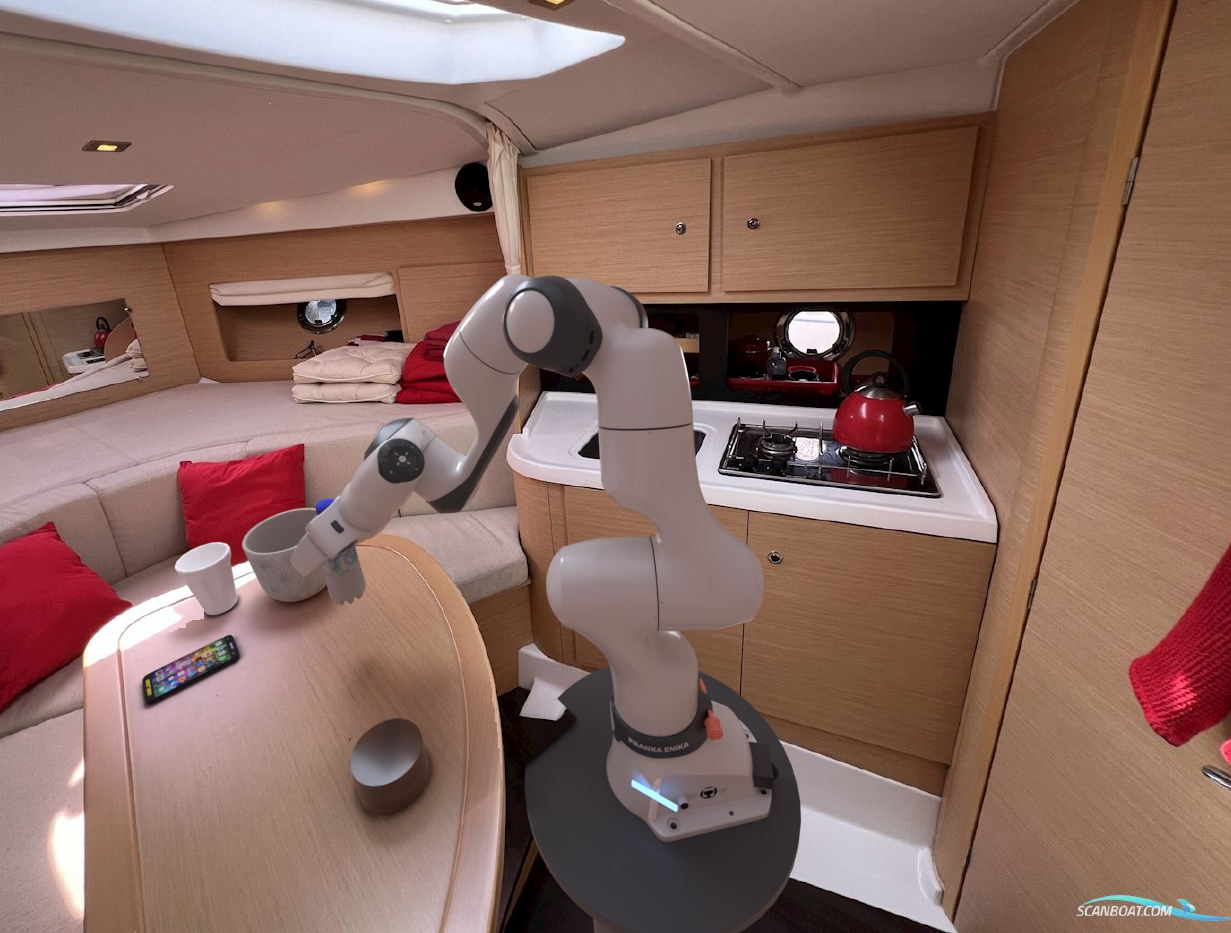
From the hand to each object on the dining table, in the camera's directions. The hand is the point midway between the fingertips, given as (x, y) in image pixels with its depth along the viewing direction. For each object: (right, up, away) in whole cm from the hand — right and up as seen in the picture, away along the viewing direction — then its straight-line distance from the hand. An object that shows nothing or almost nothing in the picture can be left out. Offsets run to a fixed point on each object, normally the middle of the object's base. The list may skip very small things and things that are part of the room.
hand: (335, 547), depth 95 cm
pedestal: (+16, -29, -17) cm, 37 cm away
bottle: (+1, -10, +3) cm, 11 cm away
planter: (-17, -15, +25) cm, 34 cm away
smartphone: (-29, -24, +5) cm, 38 cm away
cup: (-33, -18, +21) cm, 43 cm away
